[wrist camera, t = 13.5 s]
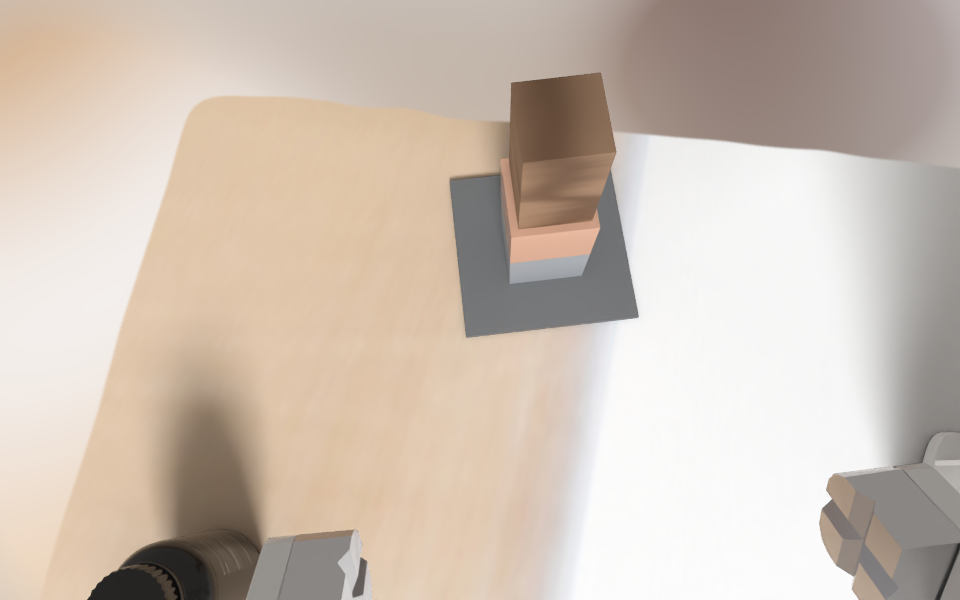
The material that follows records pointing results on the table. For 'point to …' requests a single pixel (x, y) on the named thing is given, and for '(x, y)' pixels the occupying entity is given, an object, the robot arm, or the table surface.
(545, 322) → the rubber mat
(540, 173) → the walnut post
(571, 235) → the tower top
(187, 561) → the supplement bottle
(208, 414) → the table surface
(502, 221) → the tower bottom
